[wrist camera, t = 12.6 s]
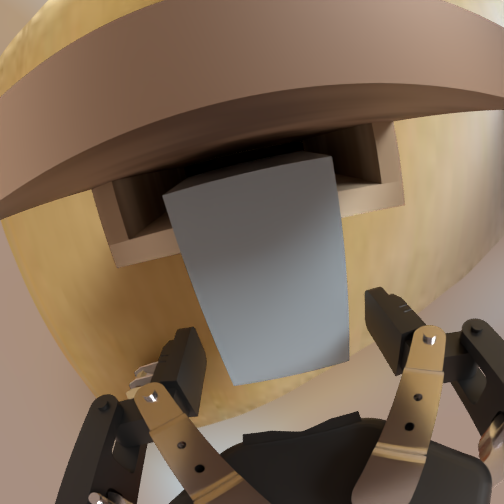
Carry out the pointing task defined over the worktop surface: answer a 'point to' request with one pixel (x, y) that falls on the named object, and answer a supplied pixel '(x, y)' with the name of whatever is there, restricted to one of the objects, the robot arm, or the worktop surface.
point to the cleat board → (237, 101)
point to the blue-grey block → (267, 263)
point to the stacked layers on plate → (141, 378)
